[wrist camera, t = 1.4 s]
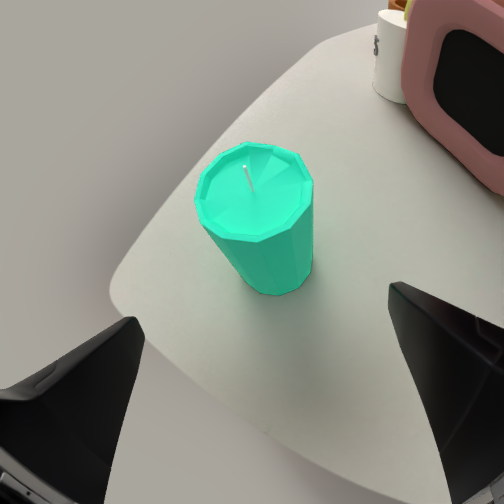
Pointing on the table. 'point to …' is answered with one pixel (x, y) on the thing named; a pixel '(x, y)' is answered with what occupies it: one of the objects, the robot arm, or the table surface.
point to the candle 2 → (390, 53)
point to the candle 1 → (260, 214)
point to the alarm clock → (459, 80)
